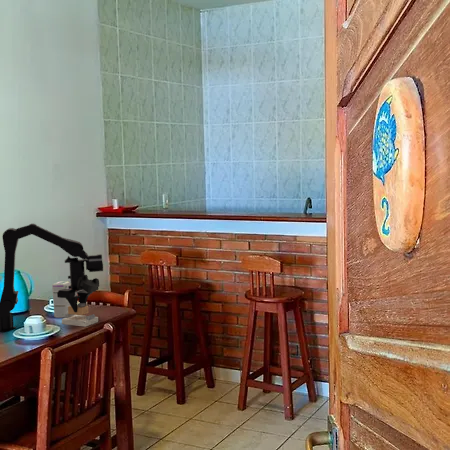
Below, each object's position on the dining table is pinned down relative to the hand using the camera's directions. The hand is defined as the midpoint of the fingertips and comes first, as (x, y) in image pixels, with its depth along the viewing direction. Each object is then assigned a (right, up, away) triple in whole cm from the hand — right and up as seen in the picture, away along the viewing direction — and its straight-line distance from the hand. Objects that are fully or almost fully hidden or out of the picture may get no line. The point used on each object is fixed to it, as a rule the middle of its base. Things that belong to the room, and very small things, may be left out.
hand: (79, 311), depth 252 cm
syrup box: (-10, -4, +14) cm, 17 cm away
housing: (0, -1, 0) cm, 1 cm away
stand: (0, -5, +1) cm, 5 cm away
